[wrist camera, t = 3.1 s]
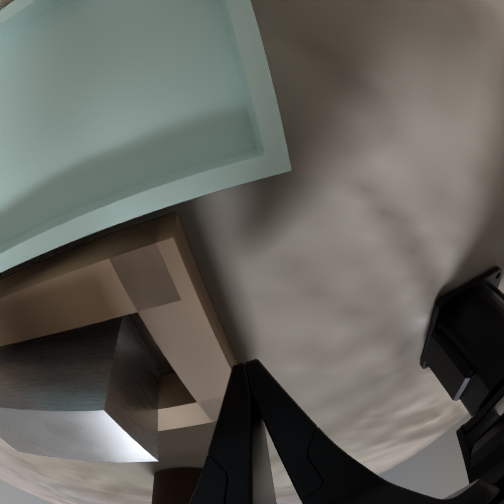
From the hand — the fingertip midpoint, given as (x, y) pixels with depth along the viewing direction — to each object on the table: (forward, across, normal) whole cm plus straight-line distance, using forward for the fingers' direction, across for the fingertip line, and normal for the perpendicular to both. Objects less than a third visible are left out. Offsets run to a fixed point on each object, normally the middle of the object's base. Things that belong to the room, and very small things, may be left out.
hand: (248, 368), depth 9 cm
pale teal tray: (+3, +4, -9) cm, 11 cm away
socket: (+3, +7, 0) cm, 8 cm away
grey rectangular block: (+3, +8, 0) cm, 9 cm away
